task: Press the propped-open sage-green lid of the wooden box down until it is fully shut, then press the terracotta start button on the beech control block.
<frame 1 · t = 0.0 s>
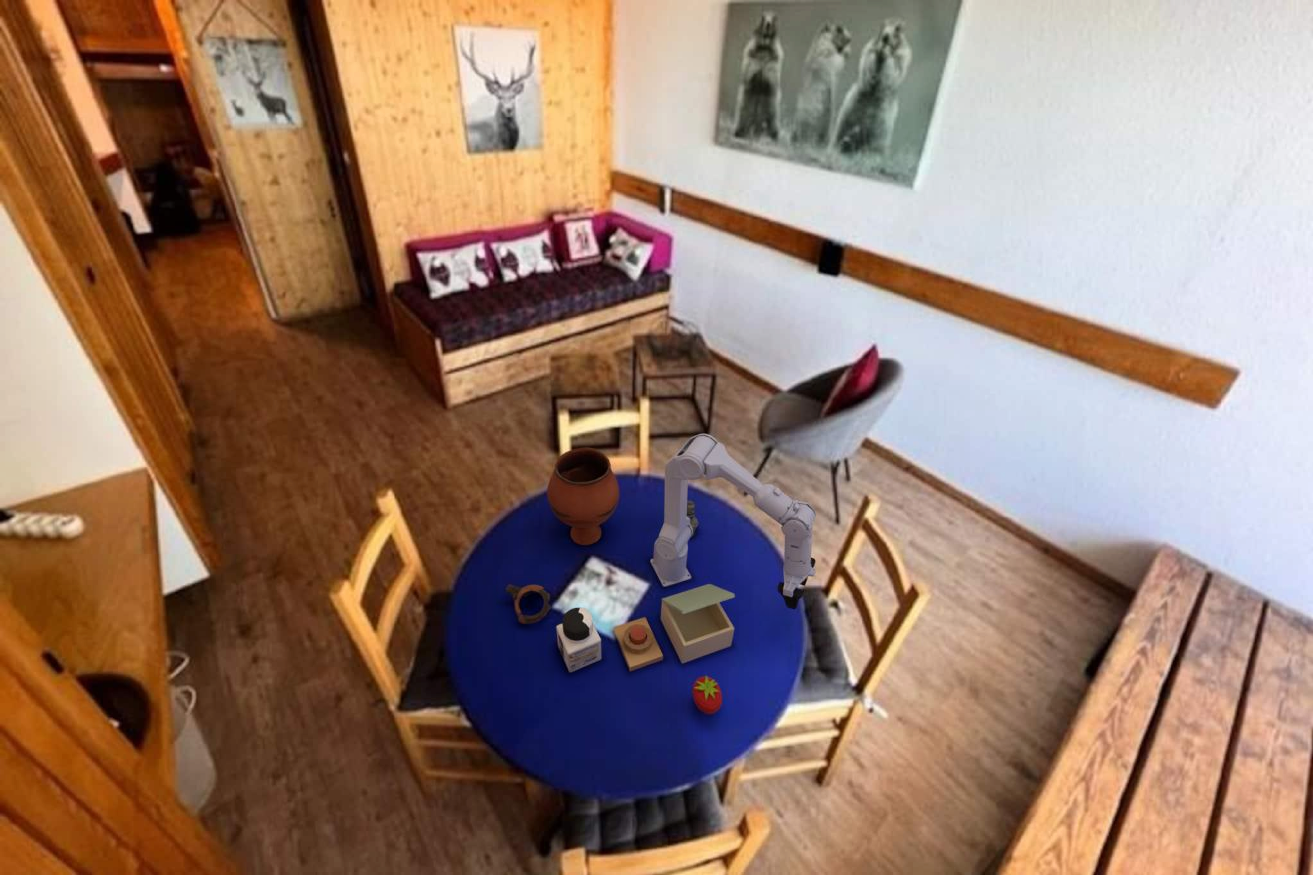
hand: (796, 595, 133), 11 cm above the table, tool pointing down, fingers open, 7 cm apart
goblet: (585, 533, 161), on the table
start button: (638, 635, 131), point 4 cm above the table, slide at 0.1 cm
control block: (637, 645, 133), on the table
container: (579, 652, 131), on the table
strawberry: (704, 708, 122), on the table
wooden box: (695, 632, 137), on the table
salt shaker: (686, 531, 163), on the table
pottery mug: (529, 608, 140), on the table
lid: (697, 597, 130), point 12 cm above the table, hinge at 40.0°
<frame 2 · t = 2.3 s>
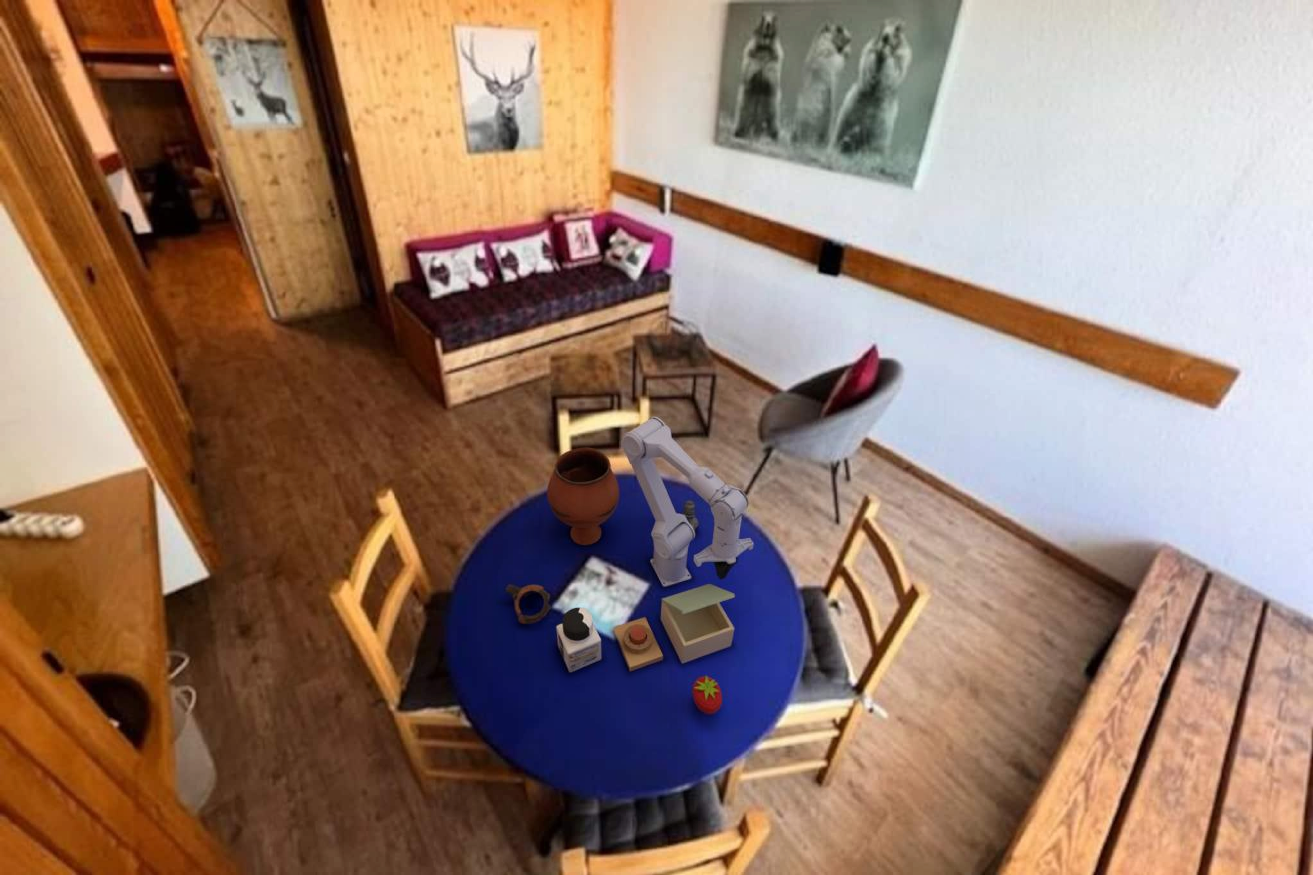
hand: (720, 575, 137), 10 cm above the table, tool pointing down, fingers closed
nothing on the table moved.
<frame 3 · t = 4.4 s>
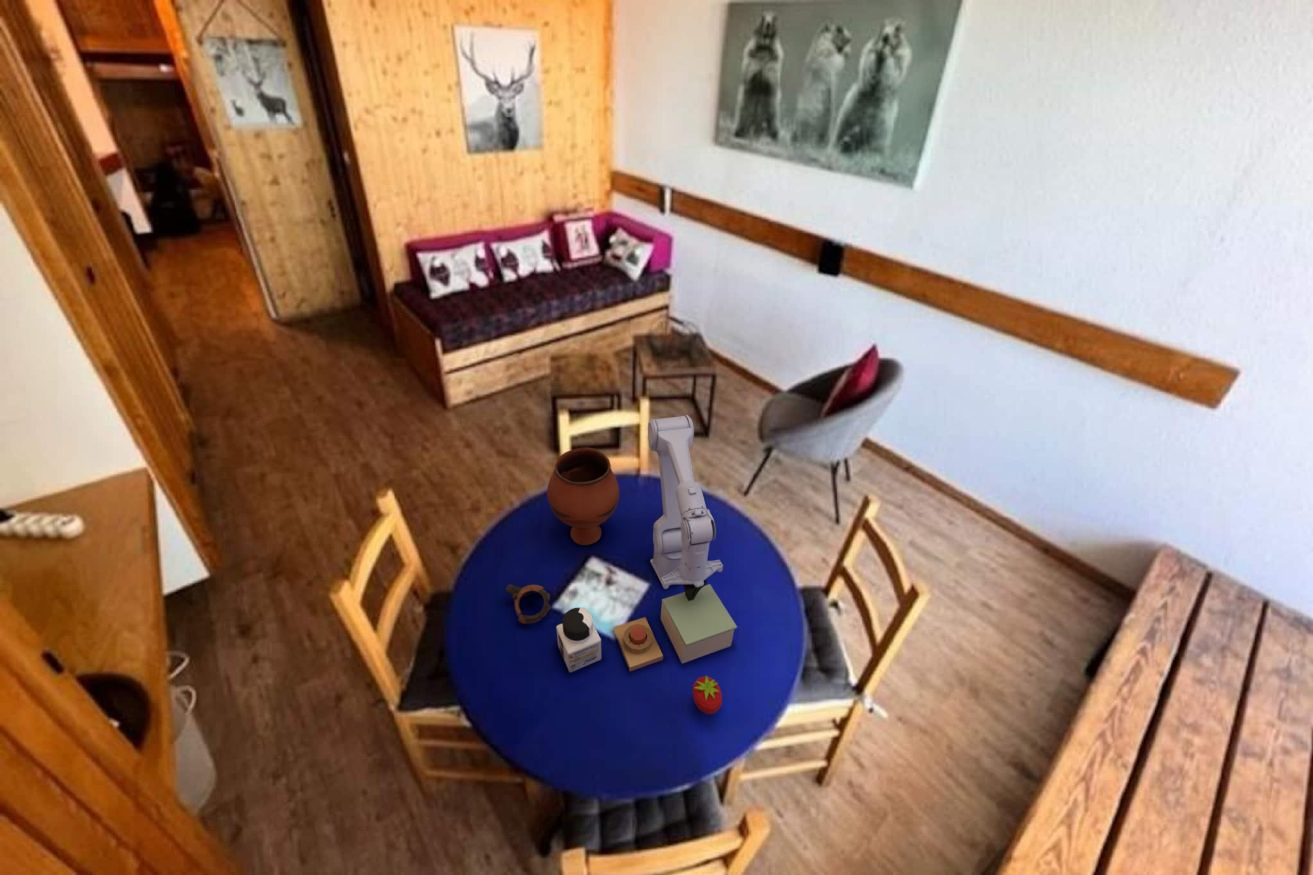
hand: (689, 597, 135), 8 cm above the table, tool pointing down, fingers closed
lid: (698, 613, 132), point 8 cm above the table, hinge at 4.0°
everything else where it was.
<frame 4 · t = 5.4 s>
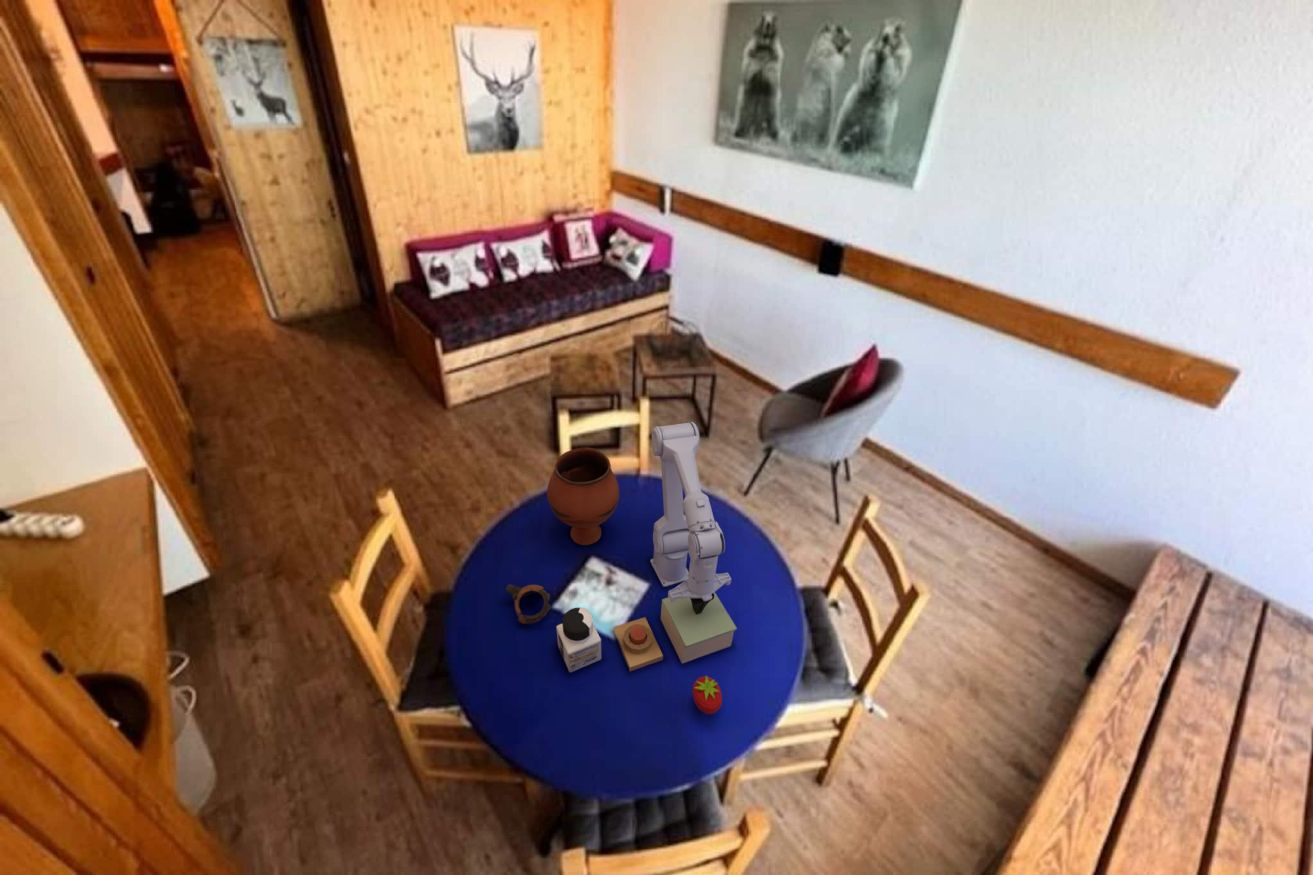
hand: (696, 610, 132), 8 cm above the table, tool pointing down, fingers closed
lid: (698, 614, 132), point 7 cm above the table, hinge at 1.6°
everything else where it was.
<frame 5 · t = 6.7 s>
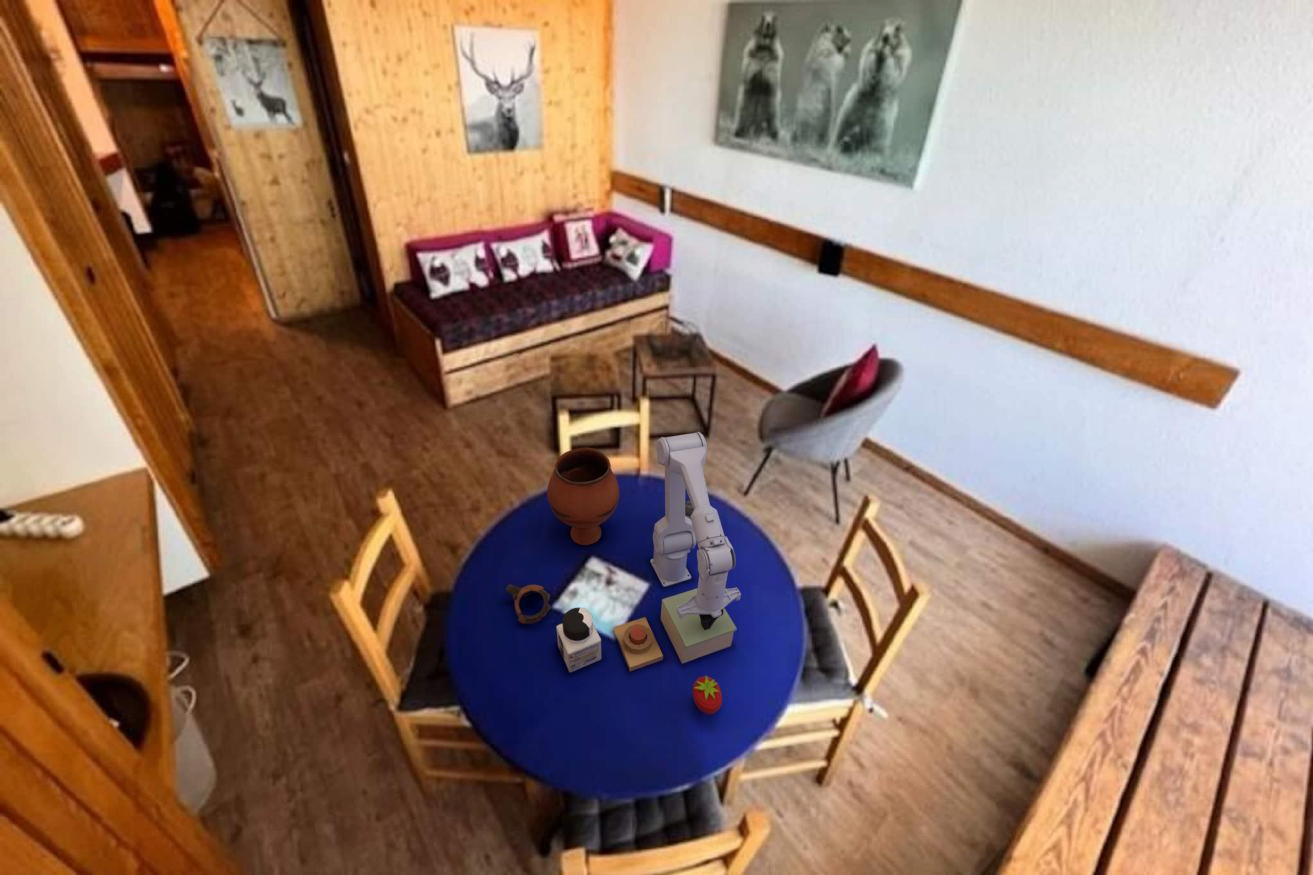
hand: (705, 625, 129), 8 cm above the table, tool pointing down, fingers closed, pressing on lid
lid: (698, 614, 132), point 7 cm above the table, hinge at 0.9°, touching gripper
everything else where it was.
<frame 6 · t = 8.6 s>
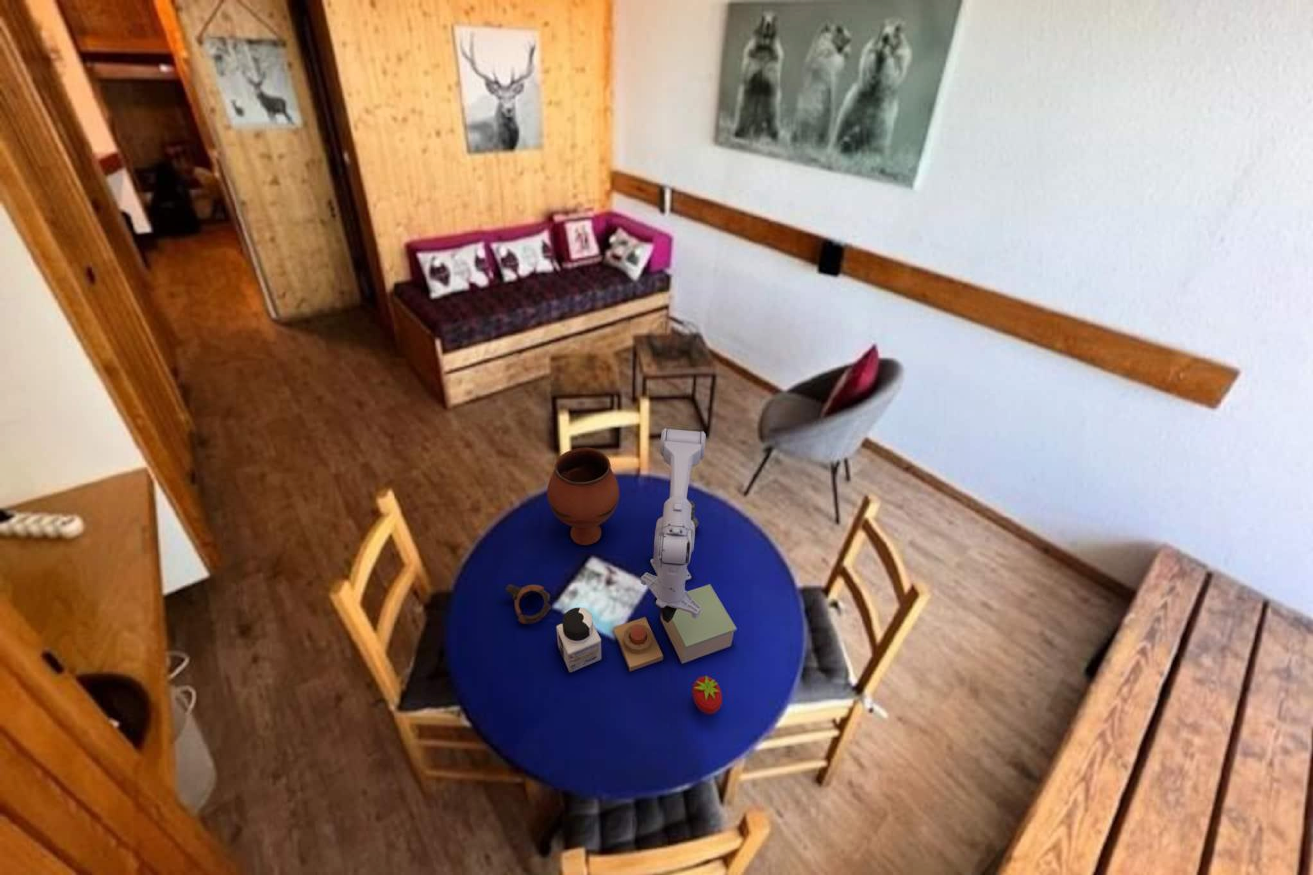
hand: (668, 618, 127), 10 cm above the table, tool pointing down, fingers closed
lid: (698, 614, 132), point 7 cm above the table, hinge at 0.9°
everything else where it was.
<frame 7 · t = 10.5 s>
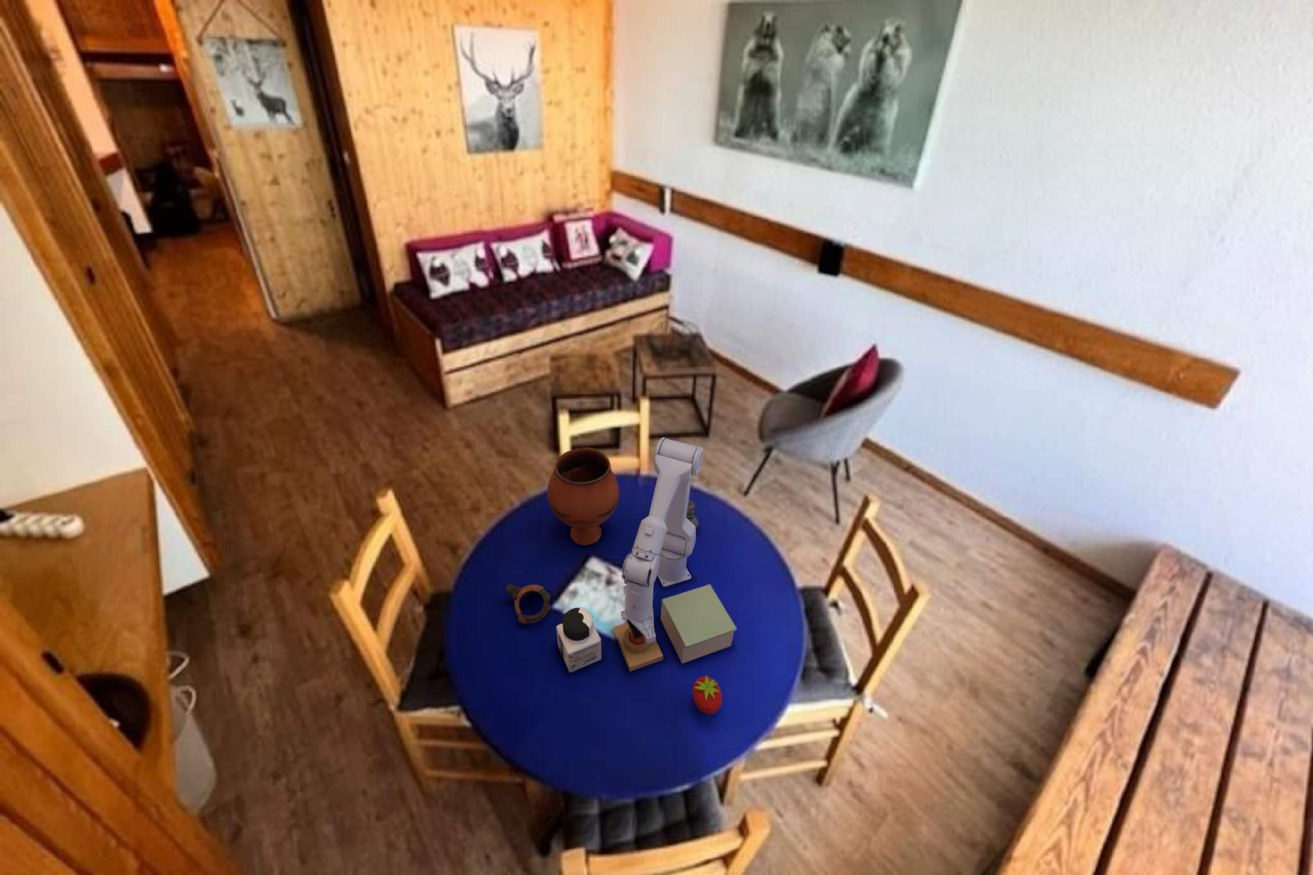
hand: (638, 634, 131), 4 cm above the table, tool pointing down, fingers closed, pressing on start button
start button: (637, 636, 131), point 3 cm above the table, slide at -0.5 cm, touching gripper
everything else where it was.
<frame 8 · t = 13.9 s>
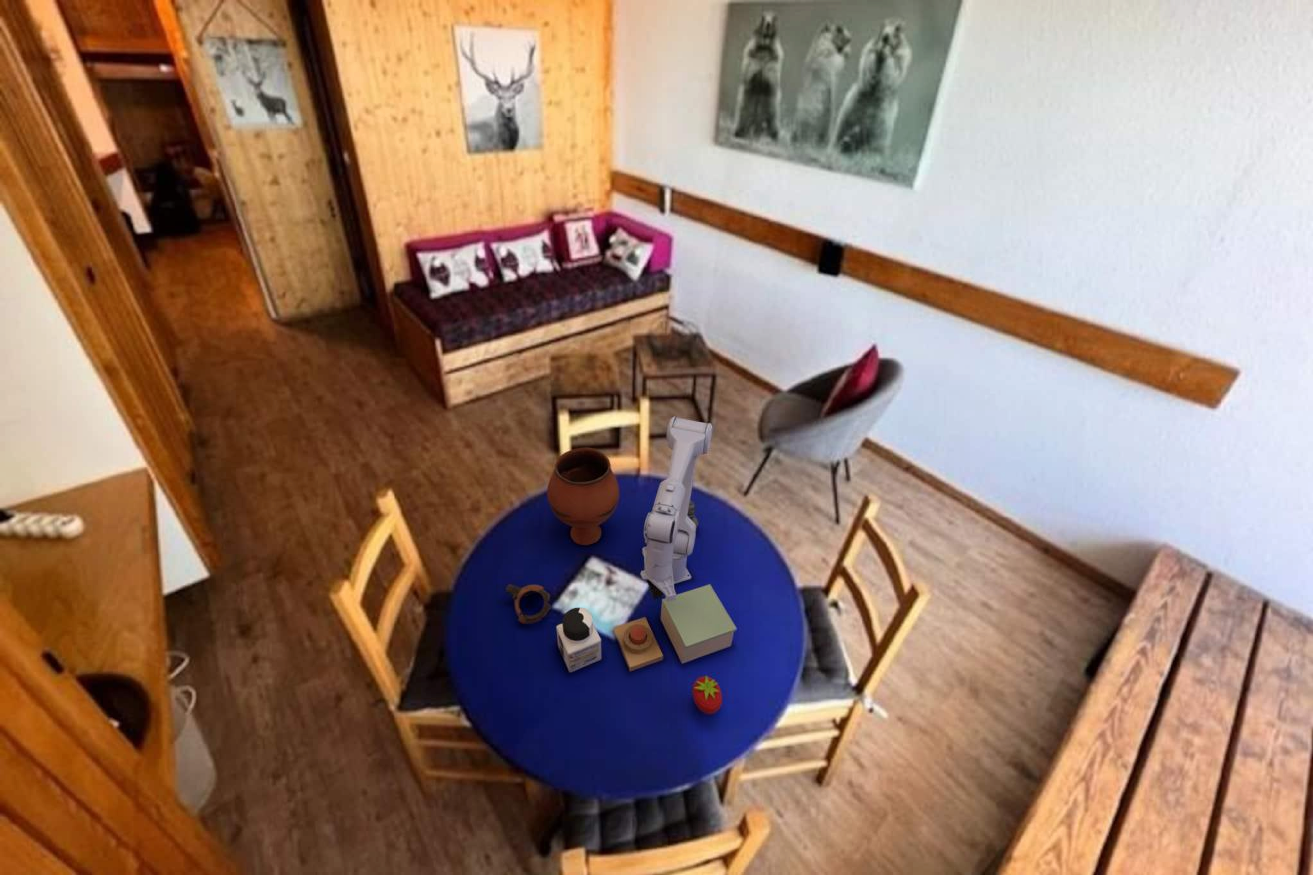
hand: (656, 596, 132), 10 cm above the table, tool pointing down, fingers closed
start button: (638, 635, 131), point 4 cm above the table, slide at 0.1 cm
everything else where it was.
at the end: lid at +1° (first picture: +40°); start button pushed in 0.9 cm at the most during the clip, back to where it started at the end; start button slide at 0.1 cm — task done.
